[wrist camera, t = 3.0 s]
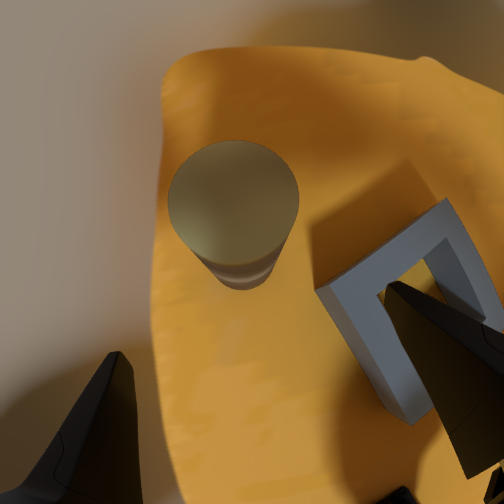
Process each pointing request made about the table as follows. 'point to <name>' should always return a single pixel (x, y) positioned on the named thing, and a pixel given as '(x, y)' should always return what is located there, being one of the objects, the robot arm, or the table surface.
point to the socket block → (376, 318)
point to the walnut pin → (234, 209)
